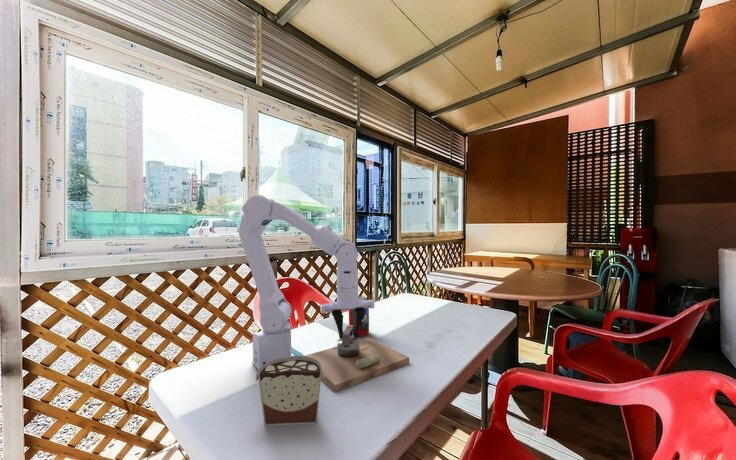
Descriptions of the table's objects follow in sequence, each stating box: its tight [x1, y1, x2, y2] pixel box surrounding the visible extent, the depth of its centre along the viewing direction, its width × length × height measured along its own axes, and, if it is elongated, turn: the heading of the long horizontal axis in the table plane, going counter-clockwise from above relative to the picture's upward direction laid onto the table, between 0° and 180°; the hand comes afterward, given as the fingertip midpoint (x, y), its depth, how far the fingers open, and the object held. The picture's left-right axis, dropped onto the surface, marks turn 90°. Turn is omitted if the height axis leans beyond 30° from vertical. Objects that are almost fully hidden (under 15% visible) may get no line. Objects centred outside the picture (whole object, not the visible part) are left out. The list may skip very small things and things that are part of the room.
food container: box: [254, 355, 325, 427], centre depth 55 cm, size 12×6×10 cm, turn 92°
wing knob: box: [336, 324, 360, 357], centre depth 79 cm, size 7×6×6 cm
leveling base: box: [304, 337, 410, 393], centre depth 76 cm, size 22×18×4 cm
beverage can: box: [348, 295, 370, 337], centre depth 98 cm, size 7×7×12 cm
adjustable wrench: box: [291, 346, 305, 356], centre depth 86 cm, size 14×1×5 cm
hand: (348, 336), depth 79 cm, fingers closed on wing knob, 3 cm apart
